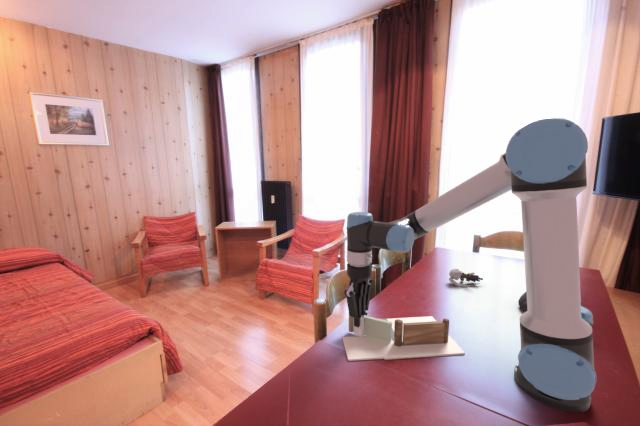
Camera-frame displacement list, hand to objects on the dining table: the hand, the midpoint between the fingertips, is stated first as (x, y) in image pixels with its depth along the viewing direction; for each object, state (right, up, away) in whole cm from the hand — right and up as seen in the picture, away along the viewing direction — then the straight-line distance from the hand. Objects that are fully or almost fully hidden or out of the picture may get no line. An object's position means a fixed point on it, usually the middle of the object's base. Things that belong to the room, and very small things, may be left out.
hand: (359, 334), depth 93 cm
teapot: (+70, +1, +14) cm, 72 cm away
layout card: (+12, -2, +2) cm, 12 cm away
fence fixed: (+19, -2, -2) cm, 19 cm away
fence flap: (+4, -1, +2) cm, 4 cm away
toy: (+61, +7, +40) cm, 74 cm away
